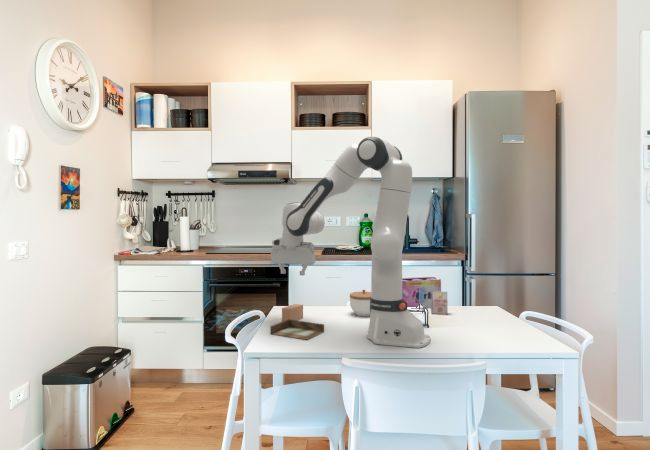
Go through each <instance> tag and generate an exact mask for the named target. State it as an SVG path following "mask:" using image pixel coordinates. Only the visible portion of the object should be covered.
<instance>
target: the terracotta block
mask: <svg viewBox="0 0 650 450" xmlns="http://www.w3.org/2000/svg"><path fill="white" fill-rule="evenodd" d="M288 319H290V320H297V321H301V320H303V319H304V304H302V303H301V304H300V303H292V304H291V305H287V306H285V307H282V308H281V322H283V321H286V320H288Z"/></svg>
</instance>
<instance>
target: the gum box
mask: <svg viewBox="0 0 650 450" xmlns="http://www.w3.org/2000/svg"><path fill="white" fill-rule="evenodd" d="M432 291H439V292H442V279H441V278H437V277H433V276H431V277H430V276H427V277H426V276H425V277H411V278H410V277H408V278H407V277H404V278H403V277H402V298H403V299H404V300H405V301H406V302H407V301H408V307H416V308H417V307H418V306H419V304H422V305H424V306H425V307H427V308H426V309H429V308H431V295H432ZM417 309H418V308H417Z"/></svg>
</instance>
